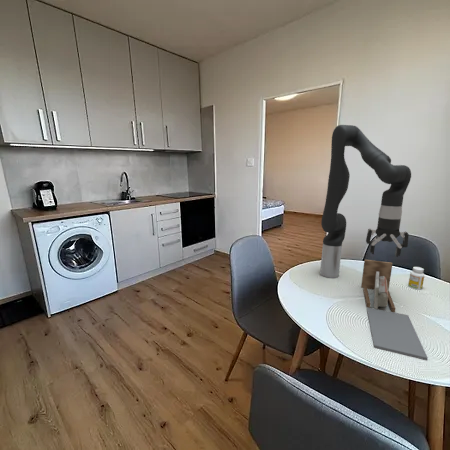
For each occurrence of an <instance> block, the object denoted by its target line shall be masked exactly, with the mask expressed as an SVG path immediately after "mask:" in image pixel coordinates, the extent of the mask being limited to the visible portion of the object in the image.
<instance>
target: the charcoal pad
mask: <svg viewBox="0 0 450 450" xmlns="http://www.w3.org/2000/svg"><path fill="white" fill-rule="evenodd" d="M366 312H367V319H368V323H369V328H370V333H371V338H372V340H371V341H372V345H373V348H375V349H379V350H384V351H388V352H392V353H395V354H400V355H404V356H409V357H413V358H416V359H417V358H418V359H419V360H420V359H422V360H425V361H428V356H427V353H426V351H425V349H424V346H423V345H422V343H421V340H420V338H419V336H418V334H417V332H416V329H415V327H414V325H413V323H412V320H411V319H410V316H409V314H403V313H400V312H395V313H394V312H391V311H390V310H382V309H379V308H378V309H374V307H373V308H371V307H370V308H367V307H366Z"/></svg>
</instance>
